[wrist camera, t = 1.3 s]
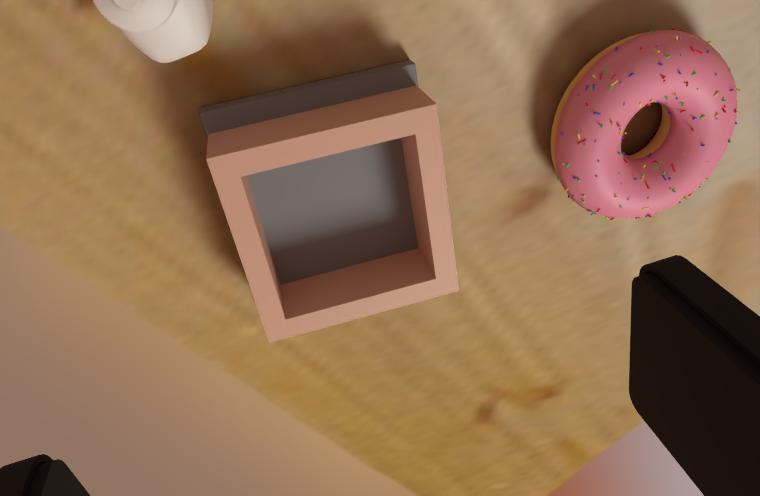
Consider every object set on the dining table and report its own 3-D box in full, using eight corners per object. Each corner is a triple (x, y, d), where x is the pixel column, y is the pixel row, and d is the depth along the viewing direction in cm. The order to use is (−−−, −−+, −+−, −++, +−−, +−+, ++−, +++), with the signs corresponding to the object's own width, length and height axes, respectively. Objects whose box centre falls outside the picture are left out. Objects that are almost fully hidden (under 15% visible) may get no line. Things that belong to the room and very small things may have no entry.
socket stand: (199, 107, 30) (196, 136, 26) (409, 59, 31) (436, 80, 27) (267, 311, 36) (272, 358, 33) (438, 266, 38) (462, 305, 34)
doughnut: (735, 41, 35) (793, 55, 31) (660, 210, 40) (702, 239, 36) (575, 6, 32) (620, 18, 28) (514, 195, 37) (546, 224, 33)
